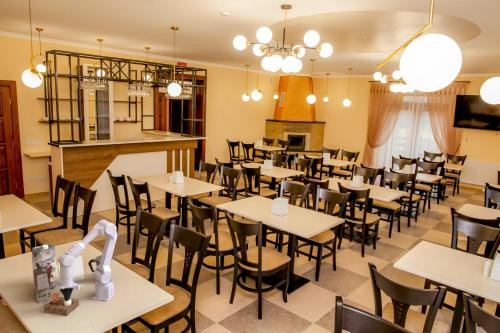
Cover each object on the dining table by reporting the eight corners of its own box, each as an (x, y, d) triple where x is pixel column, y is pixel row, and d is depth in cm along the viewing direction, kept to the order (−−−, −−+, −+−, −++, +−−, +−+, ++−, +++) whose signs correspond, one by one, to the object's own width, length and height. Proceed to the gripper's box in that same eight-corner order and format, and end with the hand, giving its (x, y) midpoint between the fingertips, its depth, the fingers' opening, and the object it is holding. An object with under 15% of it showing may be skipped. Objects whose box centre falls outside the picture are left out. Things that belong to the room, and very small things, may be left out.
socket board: (79, 305, 189) (78, 299, 189) (66, 315, 180) (66, 309, 179) (57, 302, 191) (57, 296, 191) (44, 312, 181) (43, 306, 181)
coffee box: (51, 299, 194) (50, 272, 191) (38, 303, 190) (36, 275, 187) (47, 292, 200) (46, 266, 198) (34, 296, 196) (32, 269, 193)
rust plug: (60, 301, 187) (60, 292, 186) (56, 304, 183) (56, 295, 183) (55, 300, 187) (54, 291, 186) (50, 303, 184) (50, 295, 183)
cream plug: (73, 307, 186) (72, 298, 185) (68, 310, 183) (68, 302, 182) (67, 306, 187) (66, 297, 186) (62, 310, 183) (62, 301, 183)
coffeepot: (112, 274, 225) (111, 248, 222) (117, 280, 217) (116, 253, 214) (86, 281, 215) (85, 253, 212) (91, 287, 208) (90, 259, 205)
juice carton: (32, 289, 202) (29, 245, 198) (50, 282, 211) (47, 240, 207) (40, 294, 198) (38, 249, 193) (58, 287, 207) (56, 243, 202)
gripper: (48, 278, 179) (49, 302, 181) (74, 281, 177) (75, 306, 179) (58, 271, 186) (59, 295, 188) (83, 275, 184) (83, 298, 186)
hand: (67, 300), depth 184 cm, fingers closed, pressing on cream plug
